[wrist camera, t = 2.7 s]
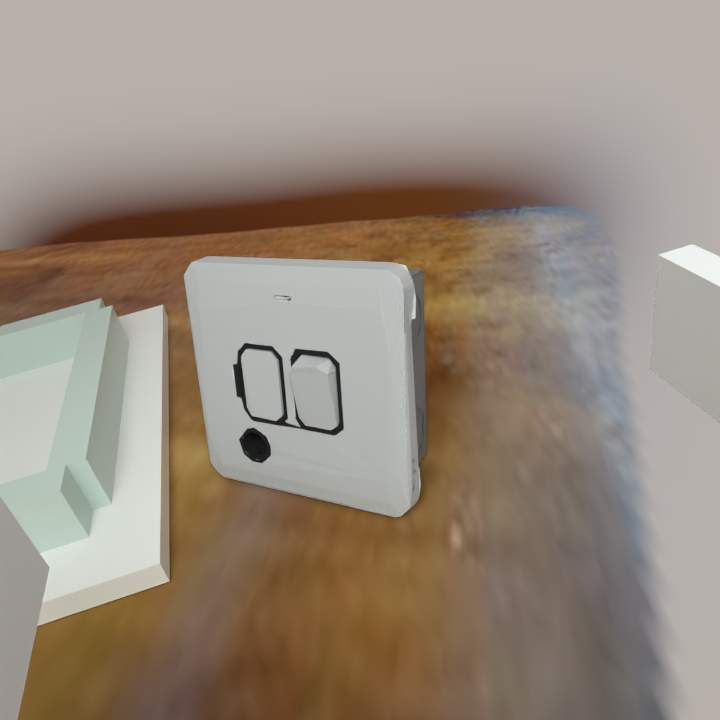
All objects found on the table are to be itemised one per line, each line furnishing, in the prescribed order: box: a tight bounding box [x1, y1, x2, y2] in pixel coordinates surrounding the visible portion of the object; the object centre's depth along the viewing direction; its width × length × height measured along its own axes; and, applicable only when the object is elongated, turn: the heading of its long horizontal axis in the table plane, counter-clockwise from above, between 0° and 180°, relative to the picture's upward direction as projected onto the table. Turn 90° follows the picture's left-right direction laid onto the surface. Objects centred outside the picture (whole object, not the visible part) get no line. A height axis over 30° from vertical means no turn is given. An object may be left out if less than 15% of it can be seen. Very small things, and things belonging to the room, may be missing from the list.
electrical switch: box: [184, 256, 427, 518], centre depth 24 cm, size 9×5×9 cm, turn 65°
